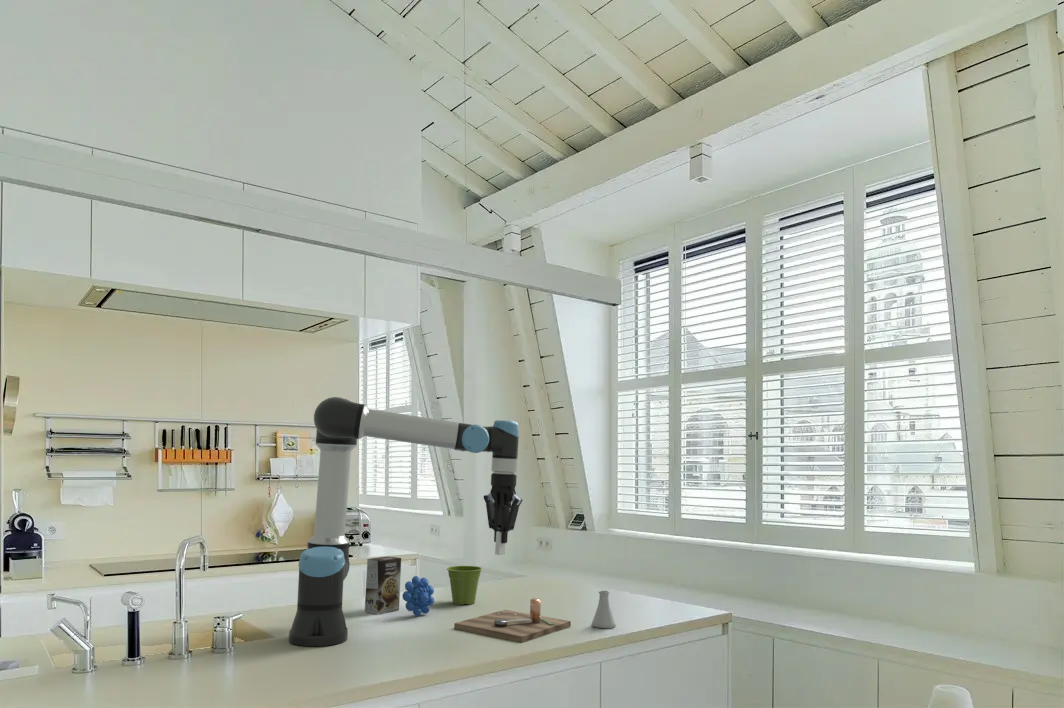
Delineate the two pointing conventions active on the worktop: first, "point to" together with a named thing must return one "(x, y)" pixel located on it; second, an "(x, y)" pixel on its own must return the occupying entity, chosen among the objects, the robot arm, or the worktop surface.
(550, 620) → the dial board
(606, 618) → the flask
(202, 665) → the worktop surface
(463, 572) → the plant pot
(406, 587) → the grapes
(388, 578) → the coffee box
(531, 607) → the crank handle
